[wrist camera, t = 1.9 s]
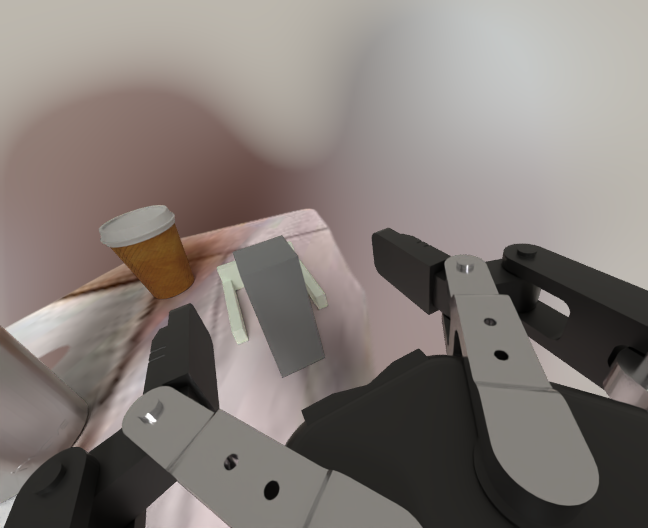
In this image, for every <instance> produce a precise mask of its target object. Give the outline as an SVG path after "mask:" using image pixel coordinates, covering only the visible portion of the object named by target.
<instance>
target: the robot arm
mask: <svg viewBox="0 0 648 528" xmlns="http://www.w3.org/2000/svg"><path fill="white" fill-rule="evenodd" d="M372 245H373V255H374V263H375V267H376V269H377V271H378V273H379V274H380V275H381V276H382V277H384V278H385V279H386V280H387V281H388V282H390V283H391V284H392V285H393V286H395V287H396V288H397V289H398V290H399V291H400V292H402V293H403V294H404V295H405V296H406V297H408V298H409V299H410V300H411V301H412V302H414V303H415V304H416V305H417V306H419V307H420V308H421V309H422V310H423V311H425V312H426V313H427V314H428V315H430V314H432V313H434V312H436V311H438V310H440V311H441V312H442V324H443V331H444V338H445V345H446V352H447V355H432V356H426V355H425V354H424V353H423V352H422V351H421V350H420V349H417V350H415V351H413V352H411V353H409V354H407V355H405V356H403V357H402V358H400V359H398V360H396V361H394V362H392V363H391V364H390V365H389V366H388V367H387V368H386V369H385V370H384V371H383V372H381V373H380V374H379V375H378V376H377V377H376V378H375V379H374V380H373V381H372V382H371V383H369V384H368V385H365V386H361V387H357V388H354V389H350V390H346V391H342V392H338V393H334V394H331V395H329V396H328V397H326V398H324V399H322V400H320V401H318V402H316V403H314V404H312V405H311V406H309V407H307V408H305V409H303V410H301V411H302V414H303V416H304V419H305V422H304V423H302V424H301V425H300V426H299V427H298V428H297V430H296V431H295V432H294V433H293V434H292V436H291V437H290V438H289V440H288V441H287V443H286V445H285V446H284V445H282V444H281V443H279V442H277V441H275V440H274V439H272V438H270V437H269V436H267V435H265V434H263V433H262V432H260V431H258V430H256V429H255V428H253V427H251V426H249V425H248V424H246V423H244V422H242V421H241V420H239V419H237V418H236V417H234V416H232V415H230V414H229V413H227V412H225V411H223V410H221V409H219V400H218V390H217V379H216V369H215V359H214V349H213V343H212V340H211V337H210V334H209V332H208V330H207V329H206V327H205V325H204V323H203V322H202V320H201V318H200V316H199V315H198V313H197V311H196V310H195V308H194V306H193V305H192V304H191V303H189V304H187V305H184V306H182V307H179V308H176V309H174V310H171V311H170V312H169V320H168V326H166V327H164V328H161V329H159V331H158V333H157V334H156V336H155V337H154V339H153V340H152V345H151V351H150V352H151V354H150V356H149V363H148V368H147V374H146V380H145V386H144V392H143V395H142V396H141V397H140V398H139V399H137V400H136V401H135V402H134V403H133V405H132V406H131V407H130V408H129V410H128V411H127V413H126V415H125V416H124V419H123V422H122V428H121V429H120V430H119V431H117V432H116V433H115V434H113V435H112V436H111V437H109V438H108V439H107V440H105V441H104V442H102V443H101V444H100V445H98V446H97V447H96V448H94V449H93V450H91V451H90V452H89V453H88V452H87V451H85V450H84V449H83V448H80V447H71V446H72V445H73V443H74V442H75V440H76V439H77V437H78V436H79V434H80V433H81V431H82V429H83V427H84V425H85V422H86V419H87V415H88V406H87V404H86V402H85V401H84V400H83V399H82V398H81V397H80V396H79V395H78V394H76V393H75V392H74V391H73V390H72V389H71V388H70V387H69V386H68V385H66V384H65V383H64V382H63V381H62V380H61V379H60V378H59V377H58V376H57V375H56V374H55V373H53V372H52V371H51V370H50V369H49V368H48V367H47V366H46V365H44V364H43V363H42V362H41V361H40V360H39V359H38V358H37V357H35V356H34V355H33V354H32V353H31V352H30V351H29V350H28V349H26V348H25V347H24V346H23V345H22V344H21V343H20V342H19V341H17V340H16V339H15V338H14V337H13V336H12V335H11V334H10V333H8V332H7V331H6V330H5V329H4V328H3V327H2V326H1V325H0V503H2V502H4V501H6V500H8V499H10V498H12V497H13V496H15V495H17V494H18V495H17V497H16V499H15V501H14V504H13V506H12V508H11V511H10V513H9V516H8V518H7V521H6V523H5V526H4V528H145V523H146V508H147V507H148V506H150V505H151V504H152V503H153V502H154V501H155V500H156V499H157V498H158V497H160V496H161V495H162V494H163V493H164V492H165V491H166V490H167V489H169V488H170V487H171V486H172V485H173V484H174V483H175V482H176V481H177V482H178V483H180V484H181V485H182V486H183V487H184V488H185V489H187V490H188V491H189V492H190V493H191V494H192V495H193V496H195V497H196V498H197V499H198V500H199V501H200V502H201V503H203V504H204V505H205V506H206V507H207V508H208V509H209V510H211V511H212V512H213V513H214V514H215V515H216V516H217V517H219V518H220V519H221V520H222V521H223V522H224V523H225V524H227V525H228V526H229V527H230V528H648V291H647V290H645V289H642V288H640V287H638V286H635V285H632V284H630V283H628V282H625V281H623V280H620V279H618V278H615V277H613V276H610V275H608V274H605V273H603V272H601V271H598V270H596V269H593V268H591V267H588V266H586V265H584V264H581V263H579V262H576V261H573V260H571V259H569V258H566V257H564V256H561V255H559V254H557V253H554V252H552V251H549V250H546V249H544V248H542V247H539V246H536V245H531V244H514V245H510V246H508V247H506V248H505V249H504V252H503V257H502V259H499V260H493V261H488V262H485V261H483V260H482V259H480V258H478V257H476V256H472V255H455V256H452V257H451V256H449V255H448V254H446V253H444V252H442V251H440V250H438V249H436V248H434V247H432V246H431V245H428V244H427V243H425V242H422V241H421V240H419V239H417V238H415V237H414V236H410V235H405V234H399V233H398V232H396V231H394V230H392V229H390V228H386V229H384V230H381V231H378V232H376V233H374V234H373V235H372ZM541 289H543V290H545V291H547V292H548V293H550V294H552V295H554V296H556V297H558V298H560V299H561V300H563V301H564V302H565V303H566V304H567V305H568V307H569V309H570V315H569V317H567V316H565V315H563V314H562V313H560V312H558V311H556V310H555V309H553V308H551V307H549V306H548V305H546V304H544V303H542V302H541V301H539V300H538V298H539V294H540V291H541ZM528 337H530V338H531V339H533V340H534V341H536V342H537V343H538V344H540V345H541V346H543V347H544V348H545V349H547V350H548V351H550V352H551V353H553V354H554V355H555V356H557V357H558V358H560V359H561V360H562V361H564V362H566V363H567V364H568V365H569V366H571V367H572V368H574V369H575V370H577V371H578V372H579V373H581V374H582V375H584V376H585V377H586V378H588V379H590V380H591V381H592V382H594V383H595V384H596V385H598V386H600V387H601V388H602V389H603V390H605V391H606V393H607V394H608V396H609V397H610V398H611V399H610V398H606V397H603V396H599V395H596V394H592V393H588V392H585V391H581V390H578V389H574V388H571V387H567V386H564V385H560V384H556V383H553V382H549V381H548V379H547V377H546V375H545V373H544V370H543V368H542V366H541V364H540V362H539V359H538V357H537V355H536V353H535V351H534V349H533V347H532V344H531V342H530V340H529V338H528ZM70 447H71V448H70Z"/></svg>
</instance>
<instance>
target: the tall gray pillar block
mask: <svg viewBox="0 0 648 528" xmlns="http://www.w3.org/2000/svg"><path fill="white" fill-rule="evenodd" d="M233 255H234V258H235V261H236V265H237V268H238V271H239V274H240V277H241V280H242V282H243V284H244V287H245V289H246V292H247V294H248V296H249V299H250V301H251V304H252V306H253V308H254V311H255V313H256V316H257V318H258V320H259V323H260V325H261V328H262V330H263V332H264V335H265V337H266V340H267V342H268V344H269V347H270V349H271V352H272V354H273V356H274V359H275V361H276V363H277V366H278V368H279V371H280V373H281V375H282V378H283V377H286V376H288V375H290V374H292V373H294V372H296V371H298V370H300V369H302V368H304V367H306V366H308V365H310V364H313V363H315V362H317V361H319V360H321V359H323V358H325V356H324V352H323V348H322V345H321V341H320V337H319V333H318V330H317V326H316V322H315V318H314V314H313V311H312V307H311V303H310V299H309V296H308V292H307V288H306V284H305V281H304V277H303V273H302V269H301V266H300V262H299V258H298V256H297V254H296V253H295V252H294V250H293V249H292V248H291V246H290V245H289V244H288V242H287V241H286V240H285V239H284V237H283V236H282V235H281V236H278V237H276V238H273V239H270V240H267V241H264V242H261V243H258V244H255V245H252V246H250V247H247V248H244V249H241V250H238V251H235V252H233Z"/></svg>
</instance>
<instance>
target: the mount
mask: <svg viewBox="0 0 648 528" xmlns="http://www.w3.org/2000/svg"><path fill="white" fill-rule="evenodd" d="M288 244H289V245H290V246H291V248H292V249H293V250H294V248H293V244H292V243H291V242H290V241H289V242H288ZM294 252H295V251H294ZM299 262H300V266H301V269H302V273H303V277H304V281H305V284H306V288H307V292H308V294H309V296H310V297H311V299H312V300H313V302H314V303H315V305H316V306H317V308H318V309H319V310H320V309H322V308H325V307H327V306H328V305H327V300H326V296H325V293H324V291H323V290H322V289H321V288H320V286H319V285H318V284H317V282H316V281H315V280H314V278H313V277H312V276H311V274H310V273H309V272H308V270H307V269H306V268H305V266H304V265H303V264H302V262H301V261H300V260H299ZM217 271H218V273H219V275H220V278H221V280H222V285H223V290H224V295H225V300H226V305H227V310H228V315H229V320H230V325H231V330H232V334H233V336H234V338H235V340H236V342H237V344H238V345H239V344H241V343H244V342H246V341H248V336H247V333H246V329H245V325H244V321H243V317H242V314H241V310H240V306H239V302H238V298H237V295H236V290H239V289H241V288H244V284H243V282H242V280H241V277H240V274H239V271H238V268H237V265H236V261H233V262H230V263H227V264H224V265H221V266H218V267H217Z"/></svg>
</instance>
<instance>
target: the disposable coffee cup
mask: <svg viewBox="0 0 648 528" xmlns="http://www.w3.org/2000/svg"><path fill="white" fill-rule="evenodd" d="M174 217H175V215H174V213H172V212H170V211H169V210H168V208H167V207H166V206H164V205H155V206H149V207H145V208H140V209H137V210H134V211H131V212H128V213H125V214H123V215H120V216H118V217H115V218H114V219H111V220H110V221H108V222H106V223H105V224H103V225H102V226H101V227H100V228H99V232H100V235H101V239H100V240H101V242H102V243H103V244H106V245H107V246H108V247H110V248H111V249H112V250H113V251H114V252H115V253H116V254H117V255H118V256H119V258H120V259H121V260H122V261H123V262H124V263H125V264H126V265H127V267H128V268H129V269H130V270H131V271H132V272H133V273H134V274H135V275H136V277H137V278H138V279H139V280H140V281H141V282H142V283H143V284H144V286H145V287H146V288H147V289H148V290H149V291H150V292H151V293H152V295H153V296H154V297H155V298H158V299H166V298H170V297H173V296H176V295H178V294H180V293H182V292H183V291H185V290H186V289H188V288H189V287H190V286H191V285H192V283H193V282H194V276H193V274H192V271H191V268H190V265H189V262H188V259H187V256H186V254H185V251H184V248H183V245H182V242H181V240H180V237H179V234H178V231H177V229H176V226H175V223H174V222H175V219H174Z"/></svg>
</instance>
